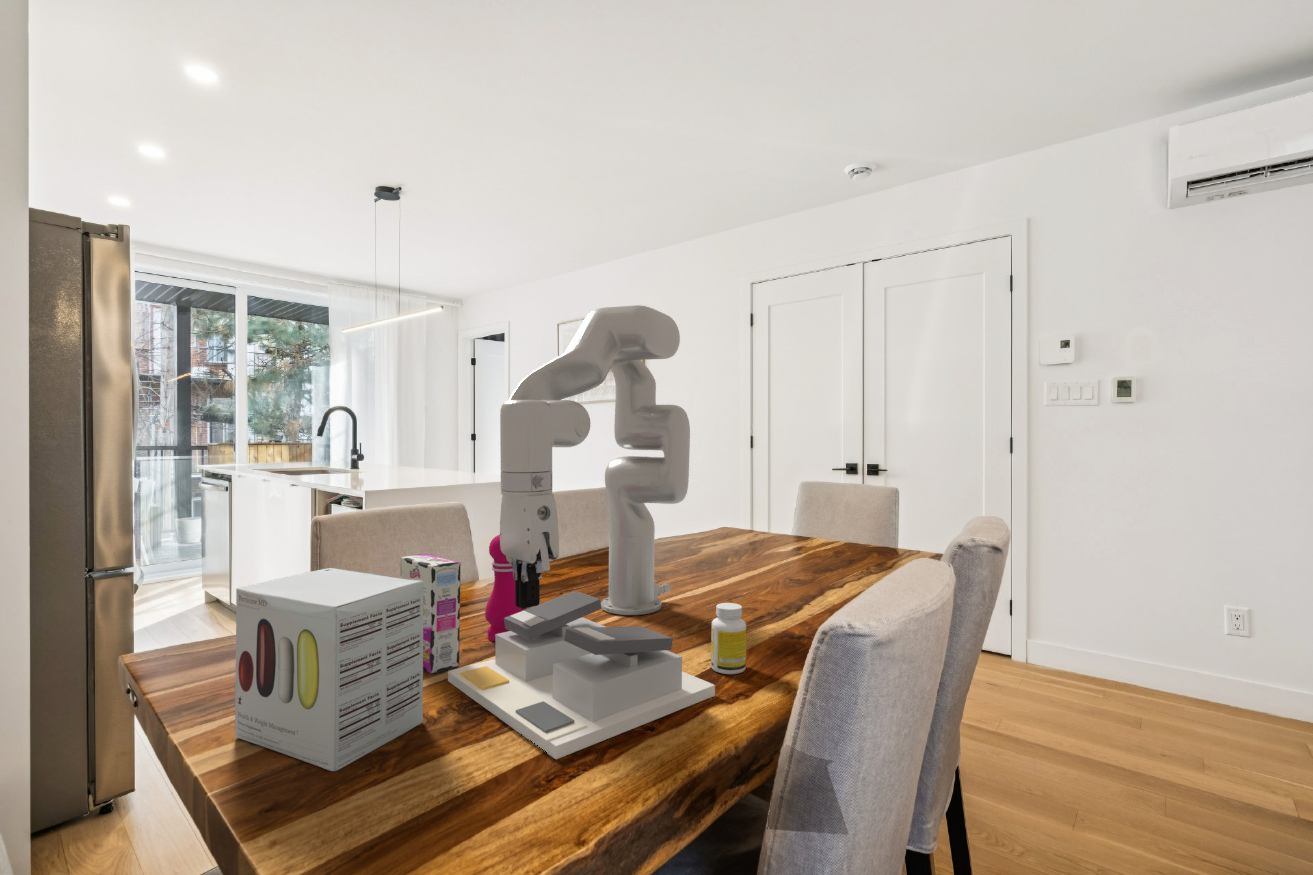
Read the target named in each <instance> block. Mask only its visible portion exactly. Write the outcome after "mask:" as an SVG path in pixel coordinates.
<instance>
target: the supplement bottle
mask: <svg viewBox="0 0 1313 875" xmlns="http://www.w3.org/2000/svg"><path fill="white" fill-rule="evenodd" d="M715 609H716V610H715V615H716V616H717V617H716V618H714V619H713V620H712V621H711V640H710V641H711V644H710V650H711V651H710V652H711V653H710V664H711V668H712V670H713V671H715V672H717V673H719V674H724V675H737V674H741V673H743V672H745V670H746V668H747V623H746V622H745V620H744V619H742V618H741V617H742V615H743V606H742V605H741V604H739V603H735V602H734V603H732V602H721V603H718V604H716V606H715Z"/></svg>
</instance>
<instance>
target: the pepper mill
mask: <svg viewBox="0 0 1313 875" xmlns="http://www.w3.org/2000/svg"><path fill="white" fill-rule="evenodd" d="M488 553H489V555H490V557H491V558H492V559H493V561H492V562H491V565H492V566H491V570H492V571H493V572H494V573H493V574H494V575H493V576H494V582H493V588H492V591H491V593H490V596H489V598H488V600H487V602H486V606H485V609H484V610H485V611H484V617H485V620H486V621H487V622H488V624H489V626H488V628H487V639H488V640H489V641H491V642H493V643H495V634H499V633H504V632H508V631H510V630H508V629H506V628H505V623H504V618H505V617H508V616H510V615H513V614H516V613H518V612H521V611H523V610H526V609H527V608H525V609H521V608H519V607H517V606H516V605H515V580H518V579H514V577H513V566H512V564H511V563H510V562H508V561H507V559H506V555H505V554H503V553H502V551H501V547H500V534H498V535H496V536H494V537H493V538H492V540H491V541H490V543H489V546H488Z"/></svg>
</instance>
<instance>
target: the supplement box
mask: <svg viewBox="0 0 1313 875" xmlns="http://www.w3.org/2000/svg"><path fill="white" fill-rule="evenodd" d="M423 585H424V583H423V581H421V580H413V579H407V578H401V576H391V575H384V574H380V573H379V574H378V573H371V572H362V571H355V570H349V569H348V570H347V569H343V568H342V569H341V568H333V567H329V568H321V569H318V570H313V571H308V572H303V573H297V574H294V575H289V576H284V577H280V578H276V579H275V578H274V579H272V580H271V579H270V580H267V581H262V582H257V583H254V584H248V585H244V586H241V587H237V588H236V589H235V591H236V593H235V596H236V600H235V601H236V602H235V605H236V606H235V610H236V611H235V612H236V613H235V616H236V617H235V618H236V619H235V687H234V688H235V691H234V692H235V696H234V698H235V699H234V703H235V704H234V705H235V706H234V715H235V716H234V717H235V719H234V720H235V722H234V723H235V724H234V736H235V739H240V740H243V741H246V742H249V743H252V744H254V745H257V746H260V747H263V748H266V749H269V750H271V751H274V752H277V753H281V754H283V755H286V756H288V757H292V758H295V759H298V760H300V761H301V762H305V763H309V764H311V765H313V766H317V767H319V768H322V769H324V770H326V771H330V772H336V771H339V770H341V769H342V768H344V767H346V766H348V765H350V764H351V763H353V762H355V761H357V760H359V759H360V758H362V757H364V756H366V755H367V754H369V753H371V752H373V751H375V750H377V749H379V748H381V747H382V746H384V745H386V744H387V743H389V742H391V741H393V740H394V739H396V738H398V737H400V736H402V735H403V734H405V733H407V732H409V731H410V730H413V729H414V728H416V727H417V726H419V725H421V724H423V723H424V719H423V718H424V714H423V711H424V705H423V704H424V703H423V702H424V698H423V697H424V669H423Z"/></svg>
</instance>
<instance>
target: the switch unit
mask: <svg viewBox="0 0 1313 875" xmlns="http://www.w3.org/2000/svg"><path fill="white" fill-rule="evenodd" d="M593 627H607V626H605V625H603V624H602V623H601V624H600V623H598V622H595V621H592V620H590V619H588V618H585V617H581V618H579V619H577V620H574V621H572V622H570V623H567V624H565V625H563V626H560V627H558V628H556V629H553V630H551V631H549V632H546V633H544V634H542V635H539V636H537V637H535V638H532V639H530V640H528V639H526V638H524V637H522V636H520V635H518V634H516V633H514V632H512V631H508V632H504V633H499V634H495V642H494V643H495V644H494V645H495V652H494V653H495V658H493V659H490V660H489V659H488V660H486V661H482V662H477V663H473V664H469V665H466V666H462V667H457V668H455V669H454V668H453V669H449V670H447V681H448V682H449V683H450V684H451V685H453V686H454V687H456V688H457V689H458V690H460V691H461V692H462V693H463V694H465V695H467V697H469V698H470V699H472V700H473V701H475V702H476V703H478V705H480V706H481V707H483V708H485V710H487V711H489V712H490V713H491V714H493V715H494V716H495V717H497V718H498V719H499V720H500V721H502V722H504V723H505V724H506V725H507V726H509V727H510V728H512V729H513V730H514V731H516V732H517V733H519V734H520V735H521V734H522V735H521V736H523V737H524V738H525V739H527V740H528V739H529V740H528V741H530V740H531V741H532V742H534V743H535V744H534V743H533V744H534V745H535V746H537V745H538V746H537V747H538V748H539V747H540V748H539V749H541V748H542V749H543V750H545V751H546V752H547V755H548V756H550V757H551V758H553V759H555V760H559V759H561V758H563V757H566V756H567V755H571V754H573V753H576V752H578V751H581V750H583V749H587V748H588V747H590V746H593V745H596V744H598V743H600V742H603V741H605V740H607V739H611V738H612V737H613V738H614V737H615V736H618V735H620V734H622V733H625V732H629V731H631V730H632V729H637V728H638V727H640V726H643V725H645V724H648V723H651V722H653V721H655V720H659V719H661V718H663V717H666V716H668V715H670V714H673V713H675V712H678V711H680V710H682V709H685V708H688V707H690V706H693V705H695V704H697V703H701V702H703V701H705V700H707V699H710V698H713V697H715V696H716V685H715V684H713V683H712V682H709V681H706V680H704V679H701V678H700V677H697V676H694V675H693V674H689V673H688V672H684V671H683V656H682V655H680V654H677V653H674V652H672V651H671V650H663V651H649V652H634V653H619V654H605V655H594V654H592V653H590V652H588V651H586V650H583V649H581V648H579V647H577V646H575V645H573V644H570V643H568V642H566V641H564V639H565V632H566V628H593ZM531 741H530V742H531ZM532 742H531V743H532ZM542 749H541V750H542ZM543 750H542V751H543ZM545 751H544V752H545ZM546 752H545V753H546Z"/></svg>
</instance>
